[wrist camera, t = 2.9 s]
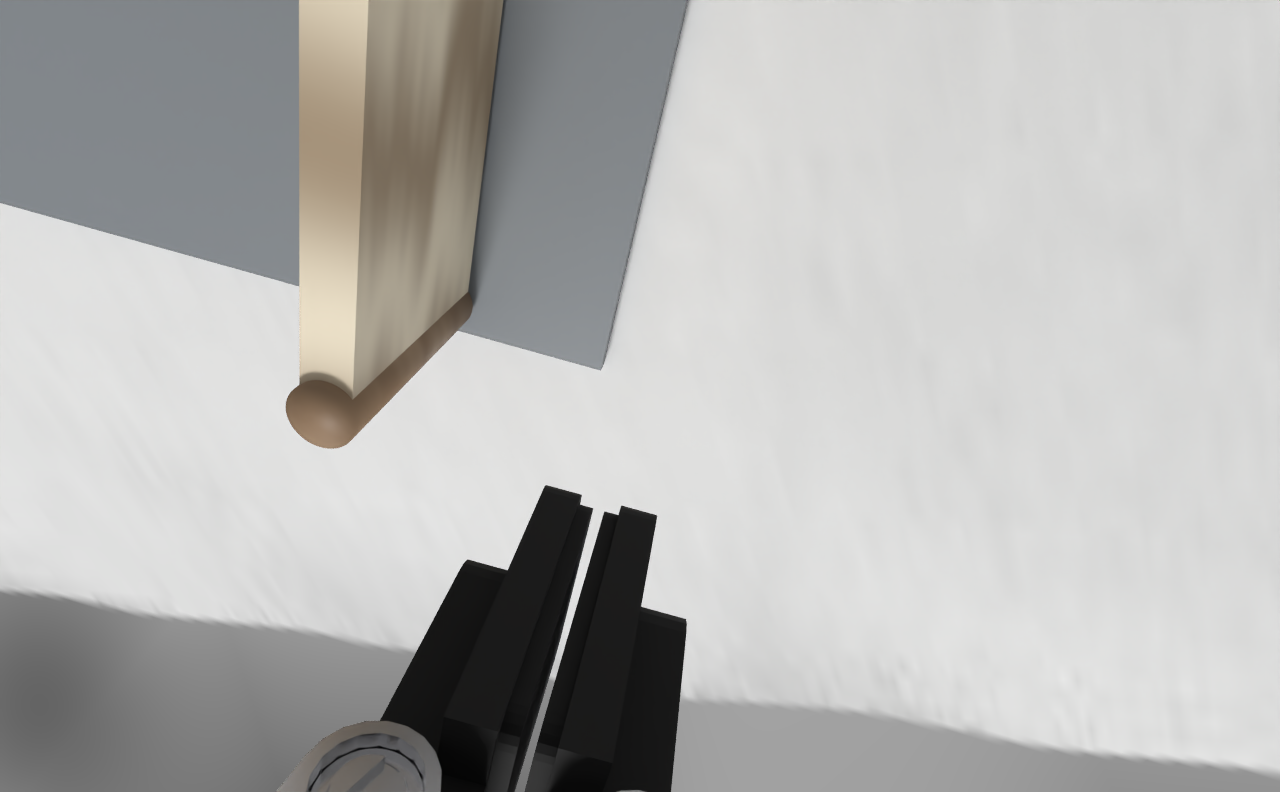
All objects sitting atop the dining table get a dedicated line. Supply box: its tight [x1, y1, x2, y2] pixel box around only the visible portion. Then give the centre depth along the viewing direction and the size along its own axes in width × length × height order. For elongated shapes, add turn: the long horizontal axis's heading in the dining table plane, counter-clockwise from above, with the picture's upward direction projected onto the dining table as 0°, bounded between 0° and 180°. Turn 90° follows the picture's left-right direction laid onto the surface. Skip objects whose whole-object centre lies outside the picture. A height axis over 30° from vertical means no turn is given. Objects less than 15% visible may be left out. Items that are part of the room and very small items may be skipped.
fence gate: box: [286, 0, 503, 448], centre depth 16 cm, size 12×2×7 cm, turn 167°
